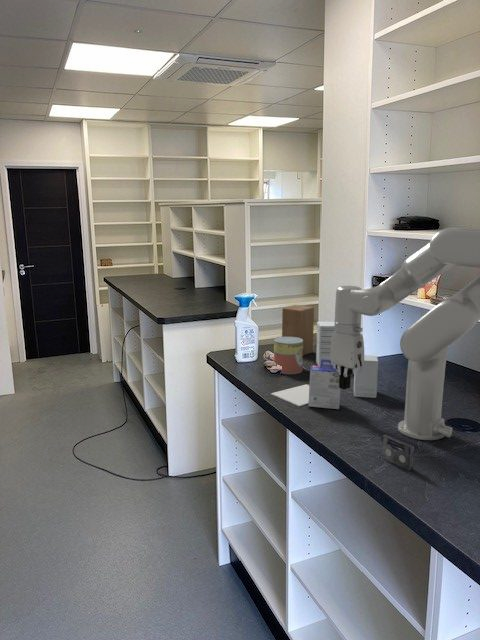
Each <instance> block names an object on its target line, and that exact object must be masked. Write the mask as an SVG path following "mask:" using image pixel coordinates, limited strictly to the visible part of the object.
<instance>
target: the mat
mask: <svg viewBox="0 0 480 640" xmlns="http://www.w3.org/2000/svg"><path fill="white" fill-rule="evenodd" d="M270 395H271V396H273V397H275V398H279V399H281V400H282V401H285V402H288V403H289V404H291V405H295V406H297V407H299V408H300V407H304V406H308V402H309V384H303V385H298V386H294V387H291V388H287V389H283V390H278V391H275V392H272V393H270Z"/></svg>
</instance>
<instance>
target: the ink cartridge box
mask: <svg viewBox="0 0 480 640" xmlns="http://www.w3.org/2000/svg"><path fill="white" fill-rule="evenodd" d="M323 362H329V363H331V361H330V360H323V359H321V365H320V366H318V365H310V370H309V384H308V385H309V402H308V404H307V406H308V407H310V408H311V407H313V408H323V409H334V410H335V409H336V410H339V409H340V404H341V396H342V389H340V388H339V376H340V375H338V371H337V369H336V367H333V365H331V364H330V365H326V364H322V363H323Z"/></svg>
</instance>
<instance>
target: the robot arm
mask: <svg viewBox="0 0 480 640" xmlns="http://www.w3.org/2000/svg"><path fill="white" fill-rule="evenodd" d="M454 266H459V267H468V268H476V269H477V268H478V269H480V231H478V230H468V229H467V230H466V229H464V228H459V227H457V226H456V227H447V228H443V229H440V230H439V231H438V232H435V234H434V235H433V236H432V237H431V239H430V241H429V242H428V243H427V244H425V245H424V246H422V247H421V248H420V249H419V250H417V251H415V252H414V253H413V254H411V255H410V256H407V258H406V259H405V260H404V261H403V262H402V265H401V267H400V268H399V269H398V270H397V271H396V272H395V273H394V274H392V275H391V276H389V277H388V278H386V280H384V281H382V282H381V283H380V284H378V285H377V286H373V287H371V288H366V289H362V288H361V287H359V286H356V285H342V286H338V287H337V288H336V290H335V307H334V308H335V309H334V322H335V325H334V331H333V334H332V339H331V346H330V361H331V365H333V366H334V367H336V369H337V371H338V375H340V376H339V388H340V389H341V390H347V389H350V388H351V382H352V381H351V378H352V376H353V375H354V373H360V372H361V369H360V367H362V366H364V355H365V343H364V336H363V334H362V332H363V330H364V329H363V327H362V324H361V323H362V315H363V316H368V317H373V316H378V315H379V314H382V313H384V312H386V311H389V310H390V309H392V308H394V307H395V306H396V305H398V304H399V303H400V302H401V301H403V300H405V299H406V298H408V297H409V296H411V295H412V294H413V293H415V292H417V291H418V290H419V289H421V288H423V287H425V286H426V285H427V284H429V283H430V282H432V281H433V280H435V279H436V278H437V277H439V276H441V275H442V274H444V272H446V271H448V270H449V269H451V268H453V267H454ZM479 321H480V274H479V275H477V276H476V277H475V278H474V279H473V280H471V282H469V283H468V284H467V285H465V286H464V287H463V288H462V289H460V290H458V291H457V292H455V293H454V294H453V295H451V296H448V297H446V298H445V299H443V300H442V301H440V302H439V303H438V304H436V305H434V307H433V308H432V309H429V311H427V312H426V313H425V314H423V316H421V317H420V318H419V319H418V320H417V321H415V322H414V323H413V324H411V326H409V327H408V328H406V330H405V331H403V333H402V335H401V337H400V341H399V346H400V350H401V353H402V354H403V356H404V357H405V358H406V359H408V363H407V373H406V374H407V375H406V384H405V385H406V388H405V401H404V402H405V404H404V419H403V420H401V421H399V422H398V424H397V430H398V431H399V432H400V434H402V435H405V436H406V437H408V438H409V437H410V438H412V439H415V440H422V441H435V440H440V439H443V438H445V437H447V438H451V436H452V434H453V427H451V426H448V425H446V424H445V421H446V420H445V418H442V410H443V409H442V407H443V397H444V385H445V384H444V383H445V375H446V374H445V372H446V364H447V357H448V352H449V347H451V345H452V344H454V343H456V342H457V341H458V340H459V339H460V338H462V337H463V336H464V335H466V334H467V333H468V332H469V331H470V330H472V329H473V328H474V326H476V325H477V323H479Z"/></svg>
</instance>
